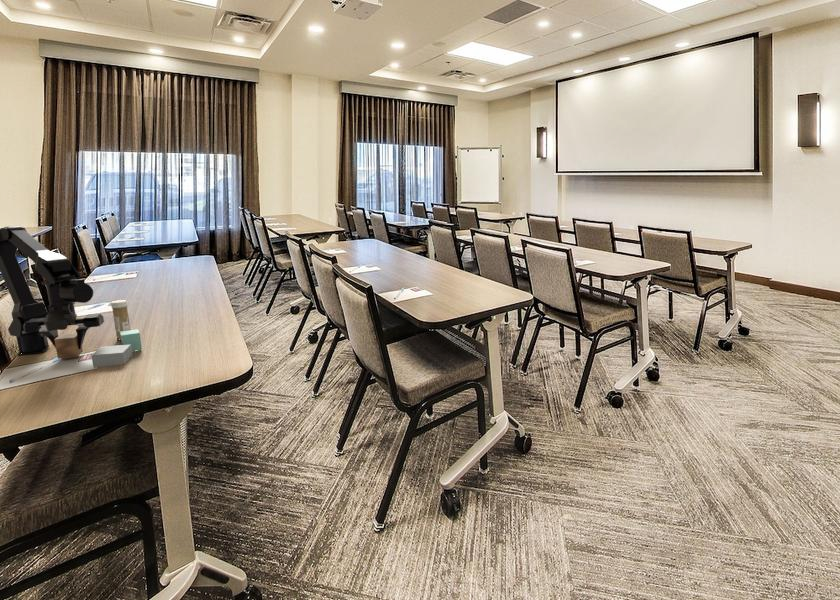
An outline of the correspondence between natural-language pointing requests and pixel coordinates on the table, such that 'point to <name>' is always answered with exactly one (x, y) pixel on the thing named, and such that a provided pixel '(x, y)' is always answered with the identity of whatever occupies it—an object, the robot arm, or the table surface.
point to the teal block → (131, 339)
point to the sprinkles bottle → (120, 316)
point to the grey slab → (111, 355)
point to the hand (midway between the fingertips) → (69, 350)
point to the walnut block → (67, 346)
